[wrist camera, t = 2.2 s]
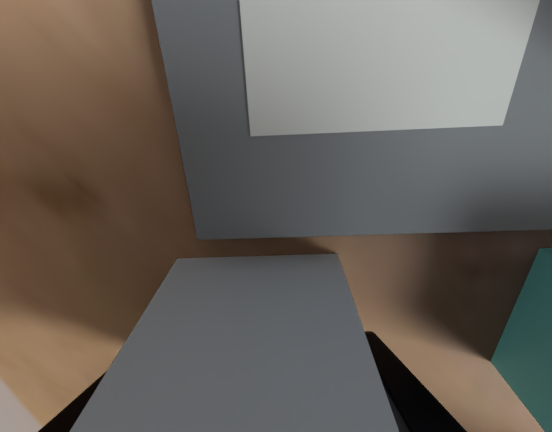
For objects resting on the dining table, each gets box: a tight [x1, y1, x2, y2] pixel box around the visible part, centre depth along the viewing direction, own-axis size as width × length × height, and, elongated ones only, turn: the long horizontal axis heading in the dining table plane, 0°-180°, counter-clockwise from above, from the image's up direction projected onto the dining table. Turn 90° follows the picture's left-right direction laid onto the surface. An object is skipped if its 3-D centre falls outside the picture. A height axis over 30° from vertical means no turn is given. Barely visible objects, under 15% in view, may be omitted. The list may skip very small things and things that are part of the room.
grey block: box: [70, 254, 399, 432], centre depth 7 cm, size 5×5×5 cm
